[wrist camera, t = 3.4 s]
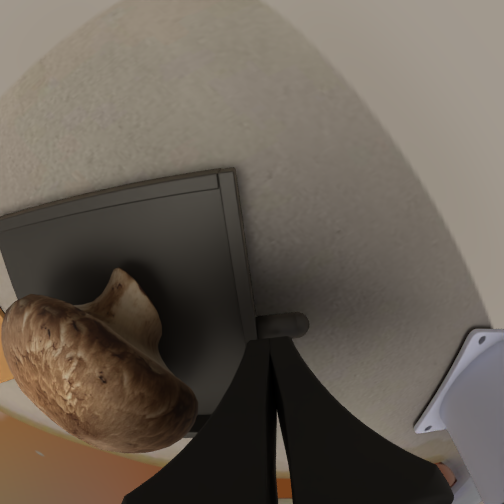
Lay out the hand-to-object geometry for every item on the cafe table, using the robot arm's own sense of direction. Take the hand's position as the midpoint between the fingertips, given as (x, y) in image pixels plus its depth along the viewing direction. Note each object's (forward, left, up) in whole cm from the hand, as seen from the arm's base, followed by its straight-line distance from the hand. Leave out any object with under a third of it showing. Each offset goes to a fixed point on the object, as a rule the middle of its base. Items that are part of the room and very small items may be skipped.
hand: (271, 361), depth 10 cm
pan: (+5, +1, -3) cm, 6 cm away
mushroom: (+6, +2, -3) cm, 7 cm away
